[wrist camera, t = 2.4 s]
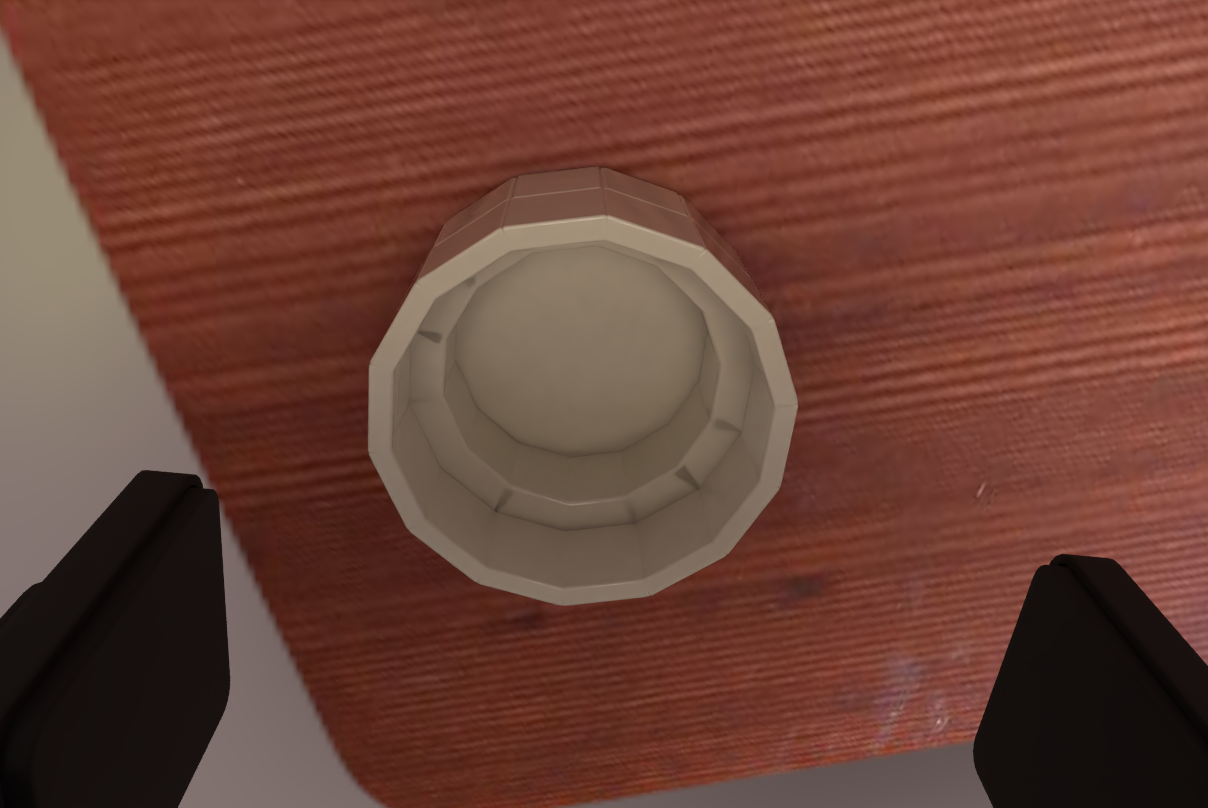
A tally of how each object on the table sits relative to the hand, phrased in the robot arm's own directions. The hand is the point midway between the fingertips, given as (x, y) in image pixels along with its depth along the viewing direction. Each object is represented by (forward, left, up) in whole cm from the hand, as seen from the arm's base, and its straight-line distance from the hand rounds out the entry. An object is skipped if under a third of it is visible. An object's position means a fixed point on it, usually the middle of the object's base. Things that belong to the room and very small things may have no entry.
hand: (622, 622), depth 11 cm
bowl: (0, 0, -10) cm, 10 cm away
